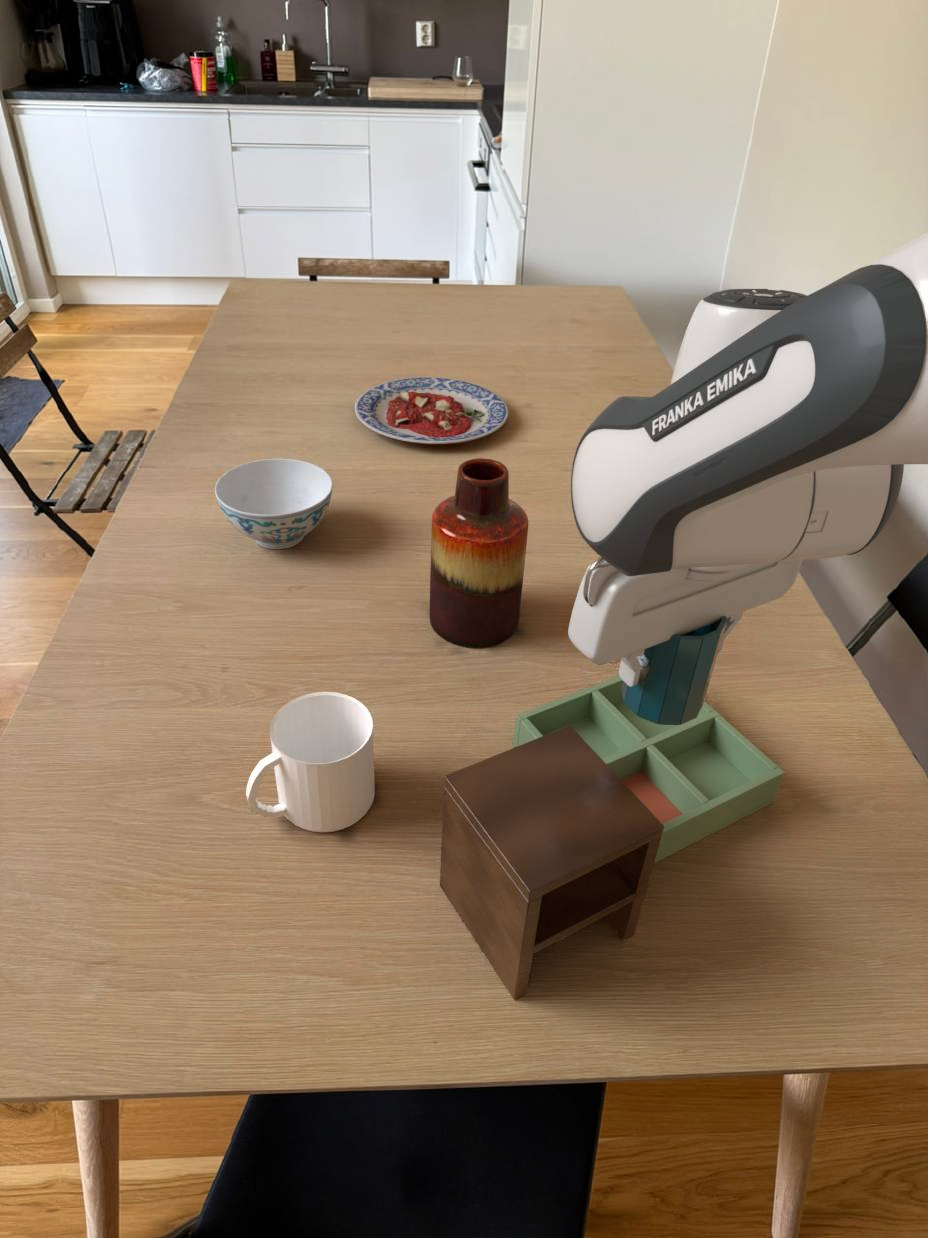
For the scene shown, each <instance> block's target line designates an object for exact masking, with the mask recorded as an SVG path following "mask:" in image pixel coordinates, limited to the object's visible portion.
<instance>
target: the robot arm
mask: <svg viewBox="0 0 928 1238" xmlns="http://www.w3.org/2000/svg"><path fill="white" fill-rule="evenodd" d="M905 465H928V231H927V232H925V233H923V234H921V235H920V236H918V237H915V238H914V239H912V240H910V241H909V242H907V243H905V244H903V245H901V246H899V247H897V248H895V249H893V250H891V251H889V252H888V253H885V254H884V255H881V257H879V258H877V259H875V260H874V261H872V262H870V263H868V264H866V265H865V266H862V267H860V268H857V269H855V270H853V271H850V272H849V273H848V274H845V275H844V276H842V277H840V278H838V279H837V280H834V281H832V282H831V283H829V284H827V285H825V286H823V287H822V288H820V289H818V290H815V291H814V292H812V293H810V294H804V293H800V292H796V291H790V290H783V289H780V290H779V289H778V290H777V289H768V288H731V289H730V288H729V289H724V290H720V291H715V292H713V293H711V294H710V295H707V296H705V297H703V298H702V299H701V300H700V301H699V302H698V303H697V305H696V307H695V309H694V311H693V313H692V315H691V317H690V320H689V323H688V325H687V327H686V330H685V333H684V335H683V339H682V342H681V345H680V348H679V351H678V354H677V357H676V361H675V365H674V368H673V371H672V376H671V380H670V385H668V386H667V387H665V388H663V389H662V390H660V391H659V392H657V393H655V395H652V396H631V395H630V396H629V395H628V396H627V395H626V396H619V397H617V398H616V399H615V400H614V401H613V402H611V403H610V404H609V405H607V406H606V407H605V409H604V410H602V411H601V413H599V415H598V416H597V417H596V418H595V419H594V420H593V422H592V423H590V424H589V426H588V428H587V429H586V431H585V432H584V433H583V435H582V436H581V437H580V440H579V442H578V444H577V447H576V450H575V453H574V457H573V461H572V467H571V474H570V476H571V477H570V499H571V507H572V508H571V509H572V514H573V518H574V521H575V525H576V528H577V529H578V532H579V534H580V536H581V537H582V539H583V540H584V542H585V543H586V544H587V545H588V546H589V547H590V548H591V549H592V551H594V552H595V553H596V554H597V555H598V556H599V557H598V558H597V559H595V560H594V562H592V563H591V564H589V565H588V566H587V568H586V570H585V573H584V575H583V577H582V579H581V582H580V584H579V587H578V591H577V593H576V597H575V600H574V604H573V607H572V611H571V615H570V619H569V623H568V630H567V634H568V635H567V636H568V638H569V640H570V641H571V643H572V644H573V645H574V646H575V648H576V649H577V650H578V651H579V652H580V653H581V654H582V655H583V656H584V657H586V658H587V659H588V660H589V661H590V662H592V663H593V664H595V665H597V666H604V665H607V664H610V663H612V662H615V661H617V660H620V664H619V668H618V676H620V678H621V679H622V680H623V681H624V682H625V683H626V684H627V685H628V686H630V687H632V686H635V685H636V684H639V683H641V682H644V681H646V680H647V674H648V672H649V668H650V666H648V665H647V664H646V663H645V662H644V661H641V659H640V658H639V657H640V656H642V655H643V654H644V651H645V649H647V648H649V647H652V646H655V645H657V644H660V643H663V642H665V641H668V640H669V639H670V638H671V636H672V635H675V634H677V635H680V636H681V635H684V634H686V633H689V632H692V631H694V630H697V629H699V628H702V627H705V626H707V625H710V624H713V623H715V622H718V621H720V619H721V617H723V616H726V618H727V624H726V627H725V630H724V634H723V637H722V641H721V644H720V648H719V651H718V653H720V652H721V651H722V650H723V647H724V643H725V640H726V638H727V637H728V635H729V634H730V633H731V632H732V631H733V629H734V628H735V627H736V626H737V624H739V622H740V621H741V619H742V618H743V614H744V612H747V611H750V610H752V609H755V608H757V607H760V606H762V605H766V604H768V603H770V602H773V601H776V600H779V599H781V598H782V597H783V596H785V594H786V593H788V591H789V590H790V589H791V588H792V587H793V586H794V584H795V582H796V580H797V578H798V575H799V573H800V570H801V568H802V565H803V562H804V561H810V560H823V559H831V558H837V557H838V558H839V557H843V556H852V555H856V554H859V553H860V552H862V551H863V550H865V549H866V548H867V547H868V546H869V545H870V544H872V542H874V540H876V538H878V536H879V535H880V533H881V532H882V531H883V530H884V528H885V527H886V525H887V524H888V522H889V520H890V518H891V516H892V515H893V512H894V509H895V507H896V504H897V501H898V498H899V496H900V492H901V488H902V483H903V477H904V469H905Z"/></svg>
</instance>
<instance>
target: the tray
mask: <svg viewBox="0 0 928 1238" xmlns="http://www.w3.org/2000/svg"><path fill="white" fill-rule="evenodd" d="M622 682H623V680H622V679H621V678H620V676H619V675H616V676H613V677H611V678H609V679H606V680H603V681H601V682H597V683H595V684H593V685H591V686H588V687H585V688H583V689H580V690H577V691H575V692H572V693H570V694H567V695H564V696H563V697H560V698H559V697H558V698H556V699H554V700H552V701H549V702H546V703H544V704H542V705H538V706H536V707H534V708H531V709H528V710H526V711H523V712H520V713H518V714H516V715H515V723H514V732H513V741H512V746H513V748H515V747H517V746H520V745H522V744H525V743H527V742H530V741H532V740H535V739H537V738H540V737H542V736H545V735H547V734H549V733H552V732H554V731H557V730H559V729H562V728H564V727H567V726H569V725H570V726H571V727H572V728H573V729H574V730H575V731H576V732H577V733H578V734H579V735H580V736H581V737H582V738H583V740H584V741H585V742H586V743H587V744H588V745H589V746H590V747H591V748H592V749H593V750H594V751H595V752H596V753H597V755H598V756H599V757H600V758H601V759H602V760H603V761H604V762H605V763H606V764H607V765H608V766H609V767H610V768H611V770H612V771H613V772H614V773H615V774H616V775H617V776H618V777H619V778H620V779H621V780H622V781H623V782H624V783H625V785H626V786H627V787H628V788H629V789H630V790H631V791H632V792H633V793H634V794H635V795H636V796H637V797H638V798H639V800H640V801H641V802H642V803H643V804H644V805H645V806H646V807H647V808H648V809H649V810H650V811H651V812H652V813H653V815H654V816H655V817H656V818H657V819H658V820H659V821H660V822H661V823H662V824H663V825H664V829H663V833H662V836H661V840H660V844H659V848H658V851H657V855H656V858H655V862H654V864H656V863H658V862H660V861H662V860H663V859H666V858H668V857H670V856H672V855H673V854H675V853H678V852H679V851H681V850H683V849H686V848H687V847H689V846H692V845H694V844H695V843H697V842H699V841H701V840H703V839H705V838H706V837H709V836H711V835H713V834H715V833H716V832H718V831H721V830H723V829H724V828H726V827H729V826H731V825H733V824H734V823H736V822H738V821H740V820H742V819H744V818H746V817H748V816H750V815H751V814H754V813H756V812H757V811H760V810H761V809H764V808H765V807H767V806H770V805H771V804H773V803H774V802H775V799H776V796H777V795H778V791H779V789H780V788H781V787H780V786H781V784H782V781H783V779H784V776H785V774H786V772H785V771H784V770H783V769H782V768H781V767H779V766H778V765H777V764H776V763H775V762H774V761H773V760H772V759H771V758H770V757H768V756H767V755H766V754H765V753H764V752H763V751H761V750H760V749H759V748H758V747H757V746H756V745H754V743H753V742H751V741H750V740H749V739H748V738H747V737H746V736H745V735H744V734H742V733H741V732H740V731H739V730H738V729H737V728H736V727H734V726H733V724H731V723H730V722H729V721H727V720H726V719H725V718H724V717H723V716H722V715H721V714H720V713H718V711H717V710H715V709H714V708H713V707H712V706H711V705H710V704H708V702H706V701H705V700H704V703H703V706H702V708H701V710H700V712H699V714H698V716H697V718H695V719H693V720H691V721H688V722H686V723H684V724H682V725H680V724H679V725H659V724H655V723H653V722H650V721H648V720H645V719H643V718H640V717H638V716H637V715H636V714H635V713H634V712H633V711H632V710H631V709H630V708H629V707H627V706H626V705H625V703H624V700H623V696H622V691H621V687H622Z"/></svg>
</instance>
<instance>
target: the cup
mask: <svg viewBox="0 0 928 1238" xmlns="http://www.w3.org/2000/svg"><path fill="white" fill-rule="evenodd" d="M726 624H727V618H726V616H723V617H721V619H720V621H718V622H715V623H713V624H710V625H707V626H705V627H702V628H699V629H697V630H694V631H692V632H689V633H686V634H684V635H681V636H680V635H677V634H675V635H672V636H671V638H670V639H669V640H668V641H665V642H663V643H660V644H657V645H655V646H652V647H649V648H647V649H645V651H644V654H643V655H642V656H640V657H639V658H640V659H641V661H644V662H645V663H646V664H647V665H648V666H650V668H649V672H648V674H647V680H646V681H644V682H641V683H639V684H636V685H635V686H632V687H630V686H628V685H627V684H626V683H625V682H624V681H623V682H622V687H621V691H622V696H623V700H624V703H625V705H626V706H627V707H629V708H630V709H631V710H632V711H633V712H634V713H635V714H636V715H637V716H638V717H640V718H643V719H645V720H648V721H650V722H653V723H655V724H659V725H679V724H680V725H682V724H684V723H686V722H688V721H691V720H693V719H695V718H697V716H698V714H699V712H700V710H701V708H702V706H703V703H704V701H705V700H706V695H707V692H708V689H709V687H710V682H711V679H712V675H713V672H714V668H715V665H716V661H717V658H718V655H719V652H718V651H719V648H720V644H721V641H722V637H723V634H724V630H725V627H726Z"/></svg>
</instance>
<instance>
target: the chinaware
mask: <svg viewBox="0 0 928 1238" xmlns="http://www.w3.org/2000/svg"><path fill="white" fill-rule="evenodd" d="M333 487H334V485H333V480H332V477H331V476H330V475H329V473H328V472H327V471H326V470H324V469H323V468H322V467H319V466H318V465H316V464H313V463H311V462H307V461H303V460H299V459H293V458H266V459H259V460H253V461H249V462H245V463H243V464H239V465H237V466H235V467H233V468H231V469H229V470H227V471H226V472H224V474H222V475H221V476H220V477H219V478H218V480H217V481H216V483H215V486H214V494H215V498H216V501H217V503H218V505H219V508H220V510H221V512H222V513H223V515H224V516H225V518H226V519H227V521H228V522H229V523H230V524H231V526H233V527H234V528H235V529H236V530H237V531H238V532H240V533H241V534H242V535H244V536H246V537H248V538H250V539H252V540H254V541H255V543H256V544H257V545H259V546H261V547H263V548H266V549H269V550H270V549H271V550H283V549H289V548H292V547H294V546H296V545H298V544H299V543H301V542H302V541H303V539H304V538H305V536H307V535H308V534H310V532H312V531H313V530H314V529H315V528H316V527H317V526H318V525H319V524H320V523H321V521H322V520H323V518H324V517H325V515H326V512H327V511H328V508H329V506H330V502H331V499H332V493H333V489H334V488H333Z"/></svg>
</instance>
